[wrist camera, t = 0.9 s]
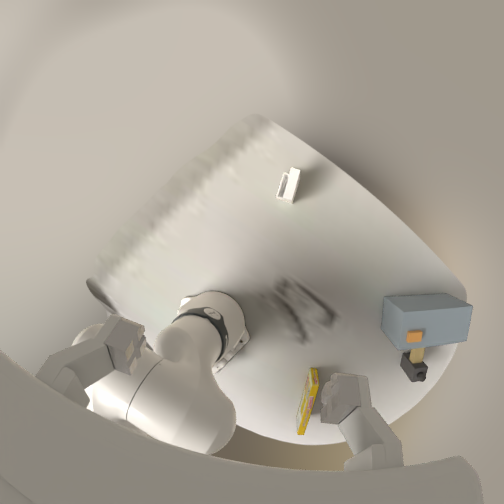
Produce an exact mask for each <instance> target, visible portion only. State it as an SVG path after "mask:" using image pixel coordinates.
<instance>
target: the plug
mask: <svg viewBox="0 0 504 504" xmlns="http://www.w3.org/2000/svg"><path fill="white" fill-rule="evenodd" d="M424 351H425V347H424V348H416V349H411V352H409V353H403V354H402V360H401V365H400V366H401V367H402V369H403V370H404V372H405V373H406V374H407V376H408V377H409V379H410V380H411V382H416V381H421V382H423V381H424V380H425V379H426V373H427V369H428V367H427V365H426V364H425V363H424V362H423V361H422V360H423V355H424Z"/></svg>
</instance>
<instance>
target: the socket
mask: <svg viewBox="0 0 504 504" xmlns="http://www.w3.org/2000/svg"><path fill="white" fill-rule="evenodd" d="M472 308H473V306H472V305H470V304H468V303H466V302H464V301H461V300H459V299H457V298H455V297H453V296H451V295H449V294H447V293H443V294H427V295H408V296H384V305H383V316H382V325H381V329H382V331H383V332H384V333H385V334H386V336H387V337H388V338H389V339H390V341H391V342H392V343H393V344H394V346H395V347H396V348H397V350H406V349H416V348H424V347H432V346H439V345H446V344H452V343H458V342H464V341H466V340H467V336H468V331H469V326H470V321H471V314H472Z"/></svg>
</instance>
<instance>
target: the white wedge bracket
mask: <svg viewBox="0 0 504 504" xmlns="http://www.w3.org/2000/svg"><path fill="white" fill-rule="evenodd" d="M299 181H300V170H298V169H295V168H292V167H291V170H290V173H289V174H288V173H285V172H284V173H283V176H282V179H281V182H280V185H279V188H278V192H277V195H276V199H278V200H282V201H285V202H288V203H291V204H293V201H294V197H295V194H296V191H297V188H298V185H299Z"/></svg>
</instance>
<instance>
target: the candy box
mask: <svg viewBox="0 0 504 504" xmlns="http://www.w3.org/2000/svg"><path fill="white" fill-rule="evenodd" d="M318 388H319V379H318V373H317V369H315V368H310V370H309V374H308V378H307V381H306V385H305V389H304V392H303V396H302V400H301V403H300V407H299V410H298V414H297V434H298V435H304V433H305V430H306V427H307V424H308V421H309V418H310V414H311V411H312V408H313V405H314V402H315V398H316V395H317V392H318Z"/></svg>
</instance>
